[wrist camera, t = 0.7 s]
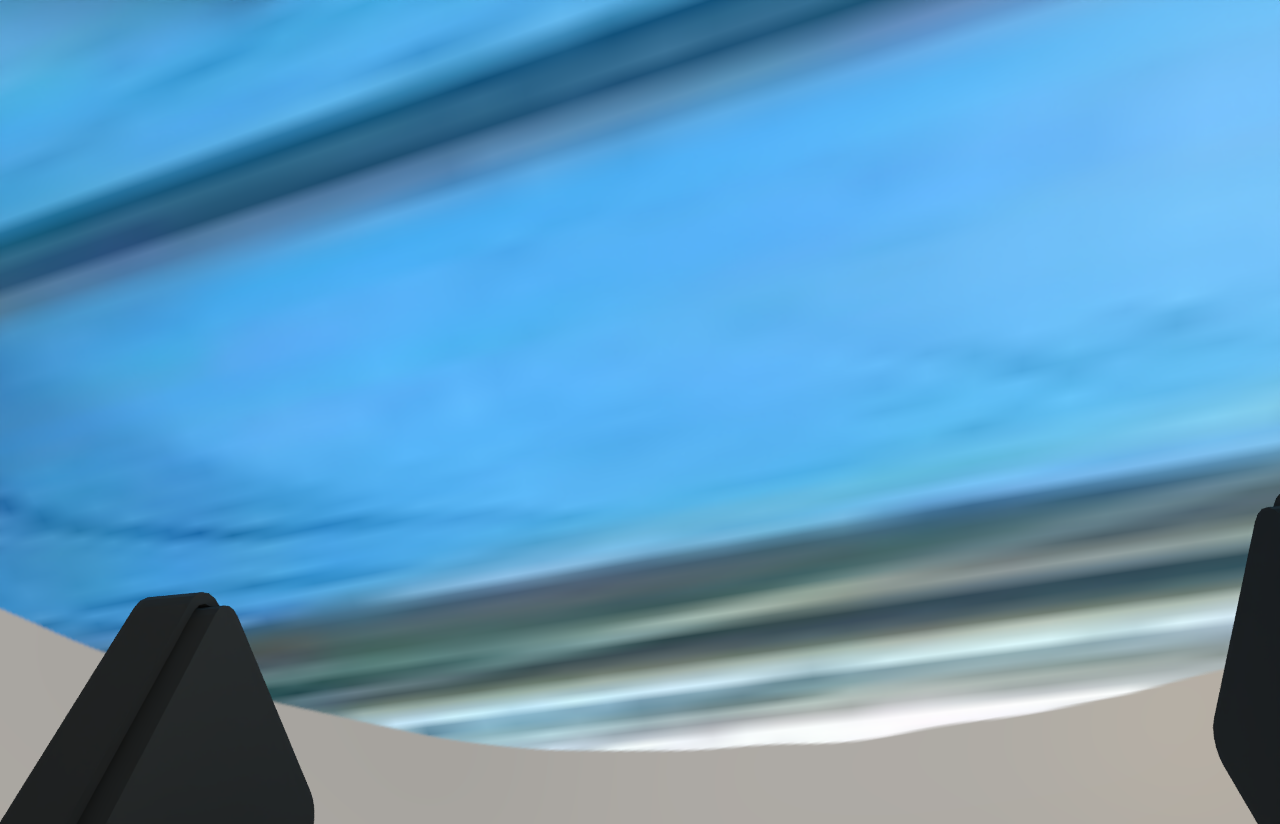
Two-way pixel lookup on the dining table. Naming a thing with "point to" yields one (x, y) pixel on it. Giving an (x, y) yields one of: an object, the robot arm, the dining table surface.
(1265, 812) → the robot arm
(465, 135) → the dining table surface
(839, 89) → the dining table surface
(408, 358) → the dining table surface
